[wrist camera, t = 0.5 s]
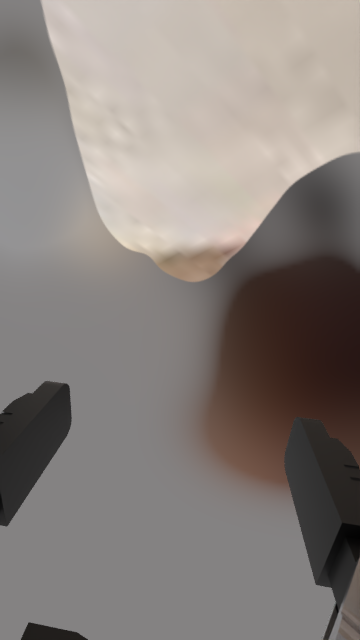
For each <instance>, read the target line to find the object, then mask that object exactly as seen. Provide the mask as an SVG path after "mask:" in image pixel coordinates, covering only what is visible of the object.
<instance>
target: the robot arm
mask: <svg viewBox="0 0 360 640" xmlns="http://www.w3.org/2000/svg"><path fill="white" fill-rule="evenodd" d="M70 426H71V402H70V388H69V385H68V384H65V383H57V382H50V381H45V382H44V383H43V384H42V385H41V386H40V387H39V388H38V389H37V390H36V391H35V392H34V393H33V394H31V393H27V394H25V395H24V396H22V397H20V398H18V399H16V400H14V401H13V402H12V403H11V404H9V405H8V406H7V407H6V408H5V409H4V410H3V411H2V414H0V525H3V526H8V524H9V523H10V521H11V520H12V518H13V517H14V515H15V514H16V512H17V511H18V509H19V508H20V506H21V505H22V503H23V502H24V500H25V498H26V497H27V496H28V494H29V492H30V491H31V489H32V488H33V486H34V485H35V483H36V482H37V480H38V479H39V477H40V476H41V474H42V473H43V471H44V470H45V468H46V467H47V465H48V464H49V462H50V460H51V459H52V457H53V456H54V455H55V453H56V452H57V450H58V448H59V447H60V445H61V444H62V442H63V441H64V439H65V438H66V436H67V434H68V432H69V429H70ZM285 471H286V475H287V479H288V482H289V486H290V490H291V493H292V497H293V501H294V505H295V508H296V512H297V516H298V520H299V524H300V527H301V531H302V535H303V539H304V542H305V546H306V549H307V553H308V557H309V561H310V565H311V568H312V572H313V576H314V579H315V583H316V585H320V586H325V587H331V588H332V590H333V593H334V597H335V600H336V602H335V604H334V607H333V609H332V612H331V614H330V618H329V620H328V623H327V626H326V628H325V631H324V634H323V636H322V639H321V640H360V470H359V466H358V464H357V462H356V460H355V459H354V457H353V455H352V453H351V452H350V451H349V450H348V449H347V448H346V447H345V446H344V445H343V444H342V443H341V442H340V441H339V440H338V439H335V438H330V437H329V435H328V433H327V431H326V429H325V427H324V425H323V423H322V422H321V421H320V420H314V419H307V418H300V417H297V418H295V420H294V423H293V426H292V430H291V433H290V437H289V440H288V444H287V448H286V452H285ZM21 640H88V639H86V638H85V637H83V636H81V635H80V634H79V633H77V632H72V631H67V630H63V629H58V628H53V627H48V626H44V625H38V624H34V623H28V625H27V627H26V629H25V632H24V634H23V637H22V638H21Z"/></svg>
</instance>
